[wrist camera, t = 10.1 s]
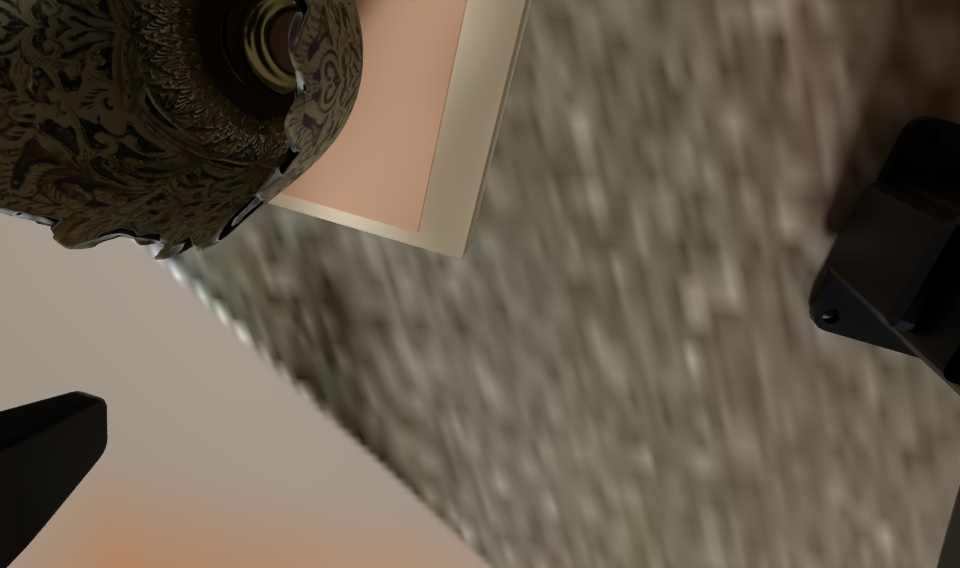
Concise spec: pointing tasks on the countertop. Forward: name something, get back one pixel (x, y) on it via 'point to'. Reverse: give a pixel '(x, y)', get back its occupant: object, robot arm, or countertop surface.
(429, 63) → the cream shallow open box
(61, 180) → the dark brown rounded vessel
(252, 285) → the countertop surface
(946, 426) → the countertop surface
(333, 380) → the countertop surface
